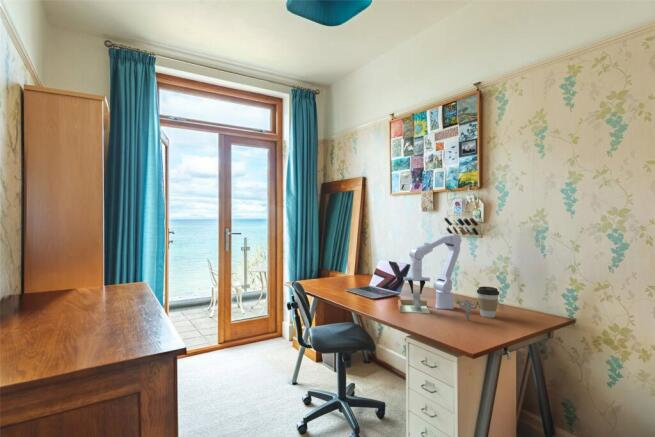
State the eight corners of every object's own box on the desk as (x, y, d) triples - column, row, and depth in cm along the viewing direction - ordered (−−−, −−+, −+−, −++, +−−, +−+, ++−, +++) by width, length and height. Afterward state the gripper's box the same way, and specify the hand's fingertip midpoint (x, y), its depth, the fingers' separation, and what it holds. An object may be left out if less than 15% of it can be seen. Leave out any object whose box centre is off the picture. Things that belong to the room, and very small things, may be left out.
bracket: (420, 308, 192) (421, 298, 190) (413, 308, 193) (414, 297, 191) (418, 300, 201) (419, 289, 199) (411, 300, 201) (412, 289, 199)
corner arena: (426, 306, 205) (426, 300, 205) (430, 313, 189) (430, 307, 189) (397, 304, 207) (397, 299, 207) (399, 312, 191) (399, 305, 191)
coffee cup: (476, 312, 193) (477, 285, 193) (499, 314, 188) (499, 287, 188) (475, 317, 183) (476, 289, 182) (499, 320, 178) (499, 291, 178)
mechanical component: (478, 321, 175) (478, 302, 175) (457, 320, 177) (457, 301, 177) (477, 320, 178) (477, 300, 177) (456, 318, 180) (456, 299, 180)
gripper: (428, 269, 199) (428, 292, 199) (403, 268, 201) (402, 291, 201) (430, 270, 192) (430, 295, 192) (404, 270, 194) (404, 294, 194)
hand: (416, 293), depth 196 cm, fingers closed on bracket, 4 cm apart
